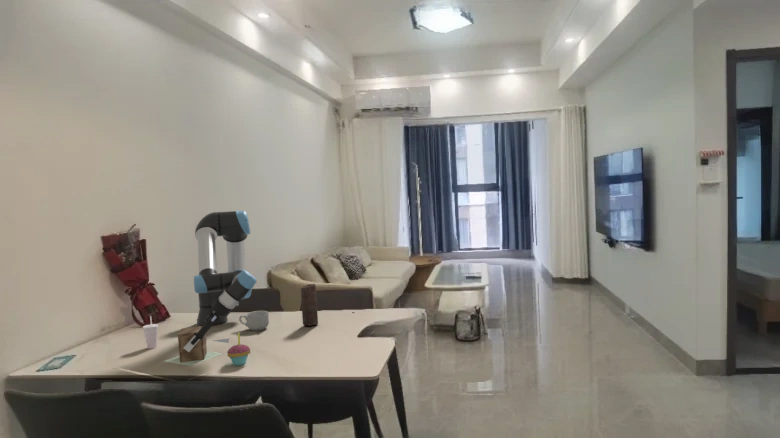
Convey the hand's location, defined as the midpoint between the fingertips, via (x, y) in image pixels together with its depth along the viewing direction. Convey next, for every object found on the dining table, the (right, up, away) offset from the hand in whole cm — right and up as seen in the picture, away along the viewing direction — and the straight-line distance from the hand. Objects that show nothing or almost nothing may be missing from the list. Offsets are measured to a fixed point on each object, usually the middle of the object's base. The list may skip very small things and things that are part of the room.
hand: (188, 345), depth 207 cm
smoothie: (-24, -6, +21) cm, 33 cm away
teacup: (+16, -3, +43) cm, 45 cm away
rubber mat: (+2, -5, +20) cm, 20 cm away
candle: (+42, -1, +44) cm, 61 cm away
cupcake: (+23, -5, -9) cm, 25 cm away
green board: (+2, -6, +1) cm, 6 cm away
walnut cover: (+2, -5, +1) cm, 5 cm away
